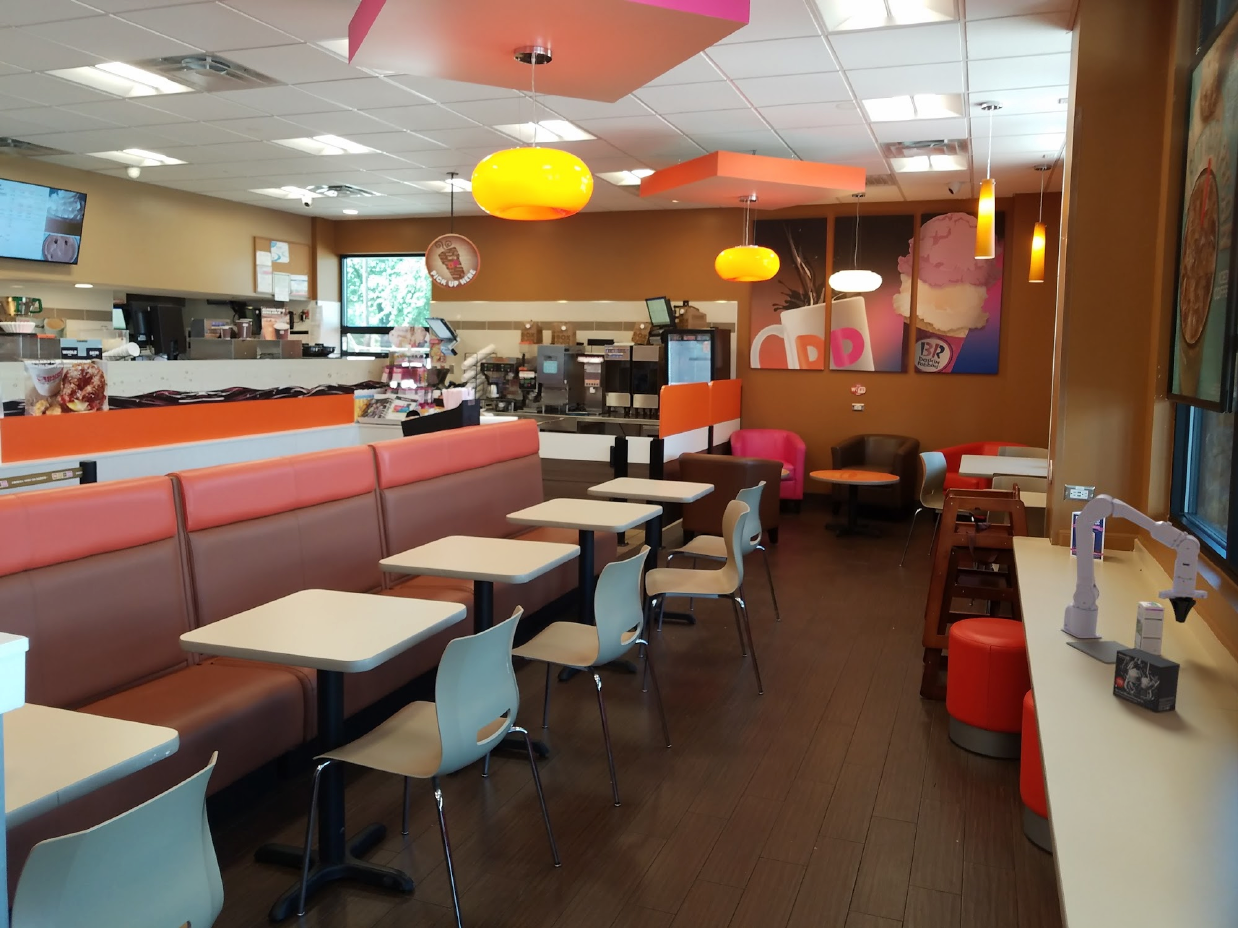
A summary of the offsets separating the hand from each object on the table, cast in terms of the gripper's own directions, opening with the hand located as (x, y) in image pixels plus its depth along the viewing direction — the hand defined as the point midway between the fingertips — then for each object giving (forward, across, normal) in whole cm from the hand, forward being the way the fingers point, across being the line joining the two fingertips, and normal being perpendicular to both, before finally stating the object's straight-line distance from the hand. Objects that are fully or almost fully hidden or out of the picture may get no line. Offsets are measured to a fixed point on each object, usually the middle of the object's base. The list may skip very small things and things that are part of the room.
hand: (1180, 621), depth 280 cm
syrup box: (+9, -10, 0) cm, 13 cm away
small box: (+9, -40, -37) cm, 55 cm away
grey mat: (+9, -22, 0) cm, 24 cm away
